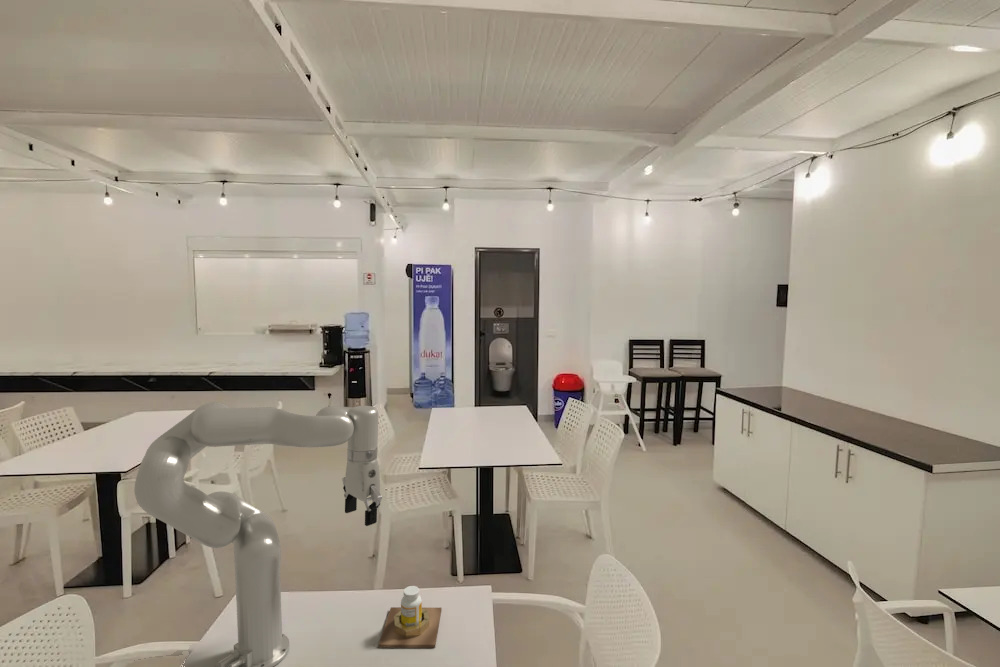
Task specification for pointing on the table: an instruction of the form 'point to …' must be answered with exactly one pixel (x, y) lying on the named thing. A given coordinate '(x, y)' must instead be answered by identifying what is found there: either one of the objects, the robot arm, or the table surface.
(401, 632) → the collar
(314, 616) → the table surface
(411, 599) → the supplement bottle
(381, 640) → the base plate
